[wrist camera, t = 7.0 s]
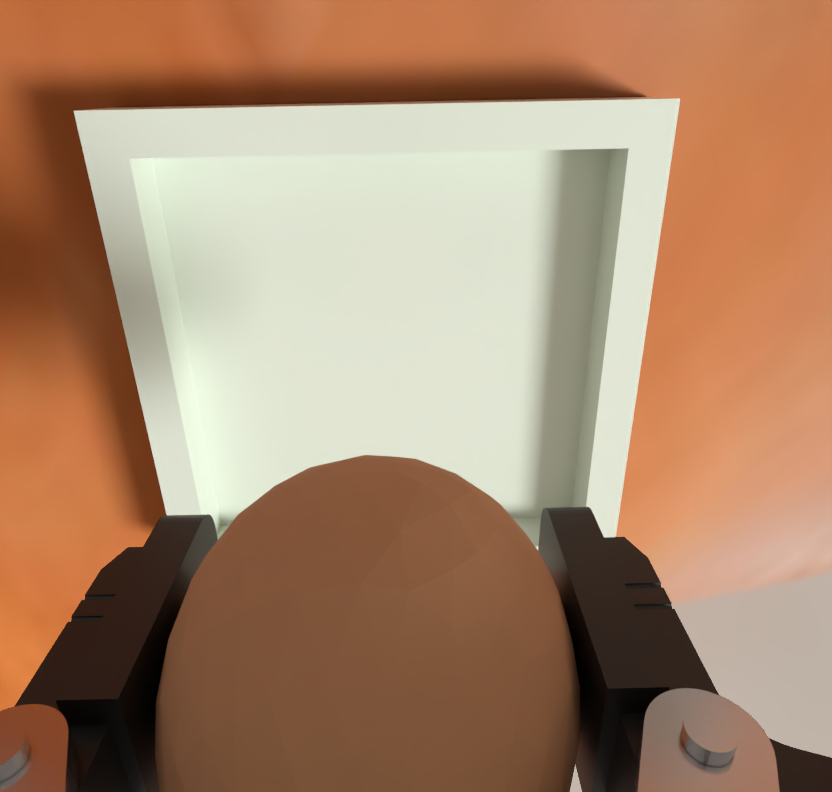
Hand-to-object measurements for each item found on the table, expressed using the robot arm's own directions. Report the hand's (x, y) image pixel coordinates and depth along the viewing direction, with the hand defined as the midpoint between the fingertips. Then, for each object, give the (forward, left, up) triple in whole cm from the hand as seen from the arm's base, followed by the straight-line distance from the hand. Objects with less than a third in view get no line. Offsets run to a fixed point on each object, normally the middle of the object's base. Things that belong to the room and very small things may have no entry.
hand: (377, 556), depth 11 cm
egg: (0, 0, -1) cm, 1 cm away
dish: (0, 0, -9) cm, 9 cm away
